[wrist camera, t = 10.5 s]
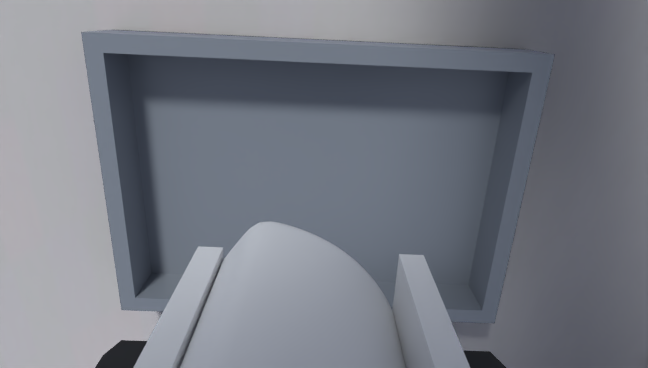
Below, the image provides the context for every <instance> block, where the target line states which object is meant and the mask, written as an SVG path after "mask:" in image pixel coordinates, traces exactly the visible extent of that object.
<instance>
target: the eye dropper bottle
mask: <svg viewBox="0 0 648 368" xmlns="http://www.w3.org/2000/svg"><path fill="white" fill-rule="evenodd" d="M180 368H406V365H405V361H404V357H403V352H402V348H401V344H400V339H399V335H398V331H397V327H396V322H395V318H394V314H393V311H392V309H391V307H390V305H389V302H388V300H387V299H386V297H385V295H384V294H383V292H382V291H381V289H380V288H379V286H378V285H377V283H376V282H375V281H374V280H373V278H372V277H371V276H370V275H369V274H368V273H367V271H366V270H365V269H364V268H363V267H362V266H361V265H360V264H359V263H358V262H356V261H355V260H354V259H353V258H352V257H351V256H349V255H348V254H347V253H345V252H344V251H342V250H341V249H340V248H338V247H337V246H335V245H333V244H332V243H330V242H328V241H326V240H324V239H322V238H321V237H318V236H316V235H314V234H312V233H309V232H307V231H304V230H302V229H299V228H296V227H293V226H290V225H286V224H282V223H278V222H272V221H268V222H259V223H257V224H256V225H254V226H253V227H251V228H250V229H249V230H248V231H247V232H246V233H245V234H244V235H243V236H242V237H241V239H240V240H239V241H238V242H237V243H236V245H235V246H234V247H233V248H232V249H231V250H230V252H229V253H228V254H227V256H226V257H225V258H224V260H223V262H222V264H221V267H220V269H219V272H218V274H217V277H216V279H215V281H214V284H213V286H212V289H211V291H210V294H209V296H208V299H207V301H206V304H205V306H204V309H203V311H202V314H201V316H200V319H199V321H198V323H197V326H196V328H195V331H194V333H193V336H192V338H191V341H190V343H189V346H188V348H187V351H186V354H185V356H184V359H183V361H182V364H181V366H180Z"/></svg>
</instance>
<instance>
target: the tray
mask: <svg viewBox="0 0 648 368" xmlns="http://www.w3.org/2000/svg"><path fill="white" fill-rule="evenodd" d="M81 34H82V41H83V48H84V55H85V62H86V68H87V75H88V82H89V89H90V96H91V103H92V110H93V117H94V123H95V130H96V137H97V144H98V151H99V158H100V165H101V172H102V179H103V185H104V192H105V199H106V206H107V213H108V220H109V227H110V234H111V241H112V247H113V254H114V261H115V268H116V275H117V282H118V289H119V296H120V303H121V309H122V310H134V311H162V312H163V311H164V309H165V308H166V306H167V304H168V302H169V300H170V298H171V296H172V294H173V293H174V291H175V289H176V287H177V285H178V283H179V281H180V279H181V278H182V276H183V274H184V272H185V270H186V268H187V266H188V265H189V263H190V261H191V259H192V257H193V255H194V253H195V251H196V250H197V248H198V246H200V247H223V258H225V257H226V256H227V254H228V253H229V252H230V250H231V249H232V248H233V247H234V246H235V245H236V243H237V242H238V241H239V240H240V239H241V237H242V236H243V235H244V234H245V233H246V232H247V231H248V230H249V229H250V228H251V227H253V226H254V225H256V224H257V223H259V222H268V221H272V222H278V223H282V224H286V225H290V226H293V227H296V228H299V229H302V230H304V231H307V232H309V233H312V234H314V235H316V236H318V237H321V238H322V239H324V240H326V241H328V242H330V243H332V244H333V245H335V246H337V247H338V248H340V249H341V250H342V251H344V252H345V253H347V254H348V255H349V256H351V257H352V258H353V259H354V260H355V261H356V262H358V263H359V264H360V265H361V266H362V267H363V268H364V269H365V270H366V271H367V273H368V274H369V275H370V276H371V277H372V278H373V280H374V281H375V282H376V283H377V285H378V286H379V288H380V289H381V291H382V292H383V294H384V295H385V297H386V299H387V300H388V302H389V305H390V307H391V309H393V300H394V292H395V284H396V276H397V268H398V259H399V254H409V255H424V257H425V260H426V262H427V265H428V267H429V269H430V272H431V274H432V277H433V279H434V281H435V284H436V286H437V289H438V291H439V293H440V296H441V298H442V301H443V303H444V306H445V308H446V310H447V313H448V315H449V318H450V320H451V322H471V323H495V319H496V314H497V310H498V305H499V301H500V297H501V292H502V288H503V283H504V279H505V274H506V270H507V265H508V261H509V257H510V252H511V248H512V243H513V239H514V234H515V230H516V225H517V221H518V217H519V212H520V208H521V203H522V199H523V194H524V190H525V185H526V181H527V177H528V172H529V168H530V163H531V159H532V154H533V150H534V145H535V141H536V137H537V132H538V128H539V123H540V119H541V114H542V110H543V105H544V101H545V97H546V92H547V88H548V83H549V79H550V74H551V70H552V65H553V61H554V57H555V54H550V53H544V52H538V51H533V50H527V49H510V48H489V47H468V46H447V45H425V44H404V43H383V42H362V41H340V40H319V39H298V38H277V37H256V36H234V35H213V34H192V33H171V32H150V31H128V30H103V31H89V32H81Z"/></svg>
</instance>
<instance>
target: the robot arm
mask: <svg viewBox="0 0 648 368" xmlns="http://www.w3.org/2000/svg"><path fill="white" fill-rule="evenodd" d="M223 260H224V258H223V247H200V246H198V248H197V250H196V251H195V253H194V255H193V257H192V259H191V261H190V263H189V265H188V266H187V268H186V270H185V272H184V274H183V276H182V278H181V279H180V281H179V283H178V285H177V287H176V289H175V291H174V293H173V294H172V296H171V298H170V300H169V302H168V304H167V306H166V308H165V309H164V311H163V313H162V315H161V317H160V319H159V321H158V322H157V324H156V326H155V328H154V330H153V332H152V334H151V336H150V337H149V339H148V341H125V340H121V341H120V342H119V343H118V344H116V345H115V346H114V347H113V348H112V349H110V350H109V351H108V352H107V353H105V354H104V355H103V356H102V358H101V359H100V361H99V363H98V364H97V366H96V367H95V368H180V366H181V364H182V361H183V359H184V356H185V354H186V351H187V348H188V346H189V343H190V341H191V338H192V336H193V333H194V331H195V328H196V326H197V323H198V321H199V319H200V316H201V314H202V311H203V309H204V306H205V304H206V301H207V299H208V296H209V294H210V291H211V289H212V286H213V284H214V281H215V279H216V277H217V274H218V272H219V269H220V267H221V264H222V262H223ZM392 311H393V314H394V318H395V322H396V327H397V331H398V335H399V339H400V344H401V348H402V352H403V357H404V361H405V365H406V368H506V367H505V366H504V365H503V364H502V363H501V362H500V361H499V360H498V359H497V358H496V357H495V356H494V355H493V354H492V353H491V352H484V351H463V349H462V347H461V344H460V342H459V339H458V337H457V334H456V332H455V330H454V327H453V325H452V322H451V320H450V318H449V315H448V313H447V310H446V308H445V306H444V303H443V301H442V298H441V296H440V293H439V291H438V289H437V286H436V284H435V281H434V279H433V277H432V274H431V272H430V269H429V267H428V265H427V262H426V260H425V257H424V255H409V254H399V259H398V268H397V276H396V284H395V292H394V300H393V309H392Z"/></svg>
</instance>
